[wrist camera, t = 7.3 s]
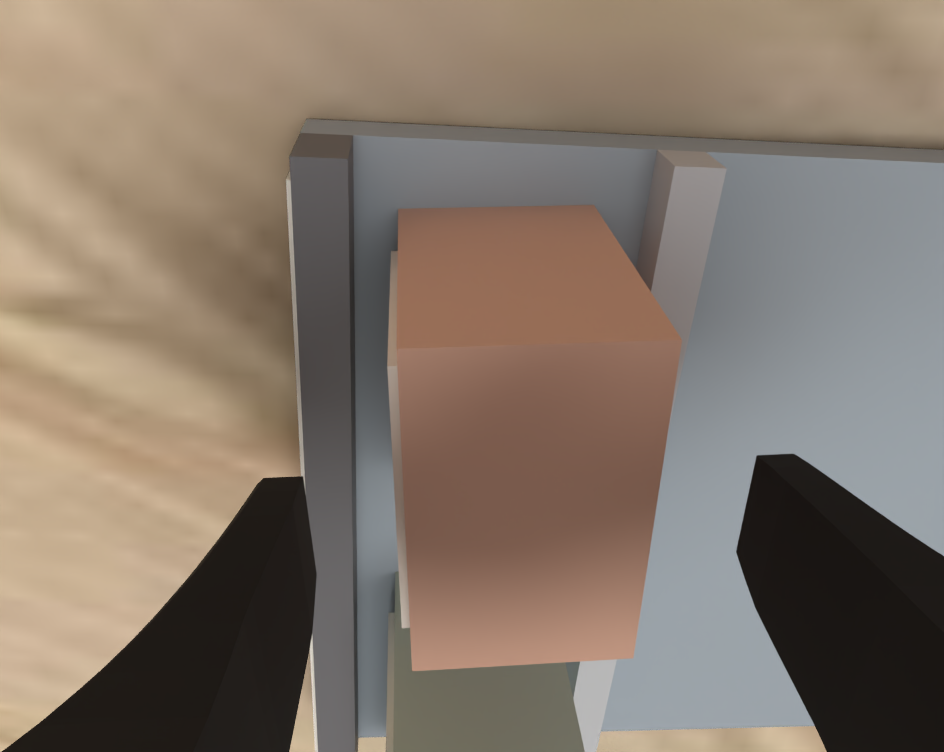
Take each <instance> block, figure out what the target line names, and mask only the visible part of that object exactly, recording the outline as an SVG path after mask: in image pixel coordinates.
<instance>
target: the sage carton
mask: <svg viewBox="0 0 944 752" xmlns="http://www.w3.org/2000/svg"><path fill="white" fill-rule="evenodd" d="M386 752H585V750H584V745H583V741H582V736H581V732H580V727H579V722H578V718H577V713H576V709H575V704H574V699H573V695H572V690H571V686H570V681H569V677H568V672H567V667H566V663H565V662H563V663H546V664H529V665H512V666H495V667H478V668H461V669H444V670H427V671H412V659H411V638H410V628H402V622H401V604H400V586H399V572H395V607H394V613H388V662H387V716H386Z"/></svg>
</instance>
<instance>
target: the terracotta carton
mask: <svg viewBox="0 0 944 752" xmlns="http://www.w3.org/2000/svg"><path fill="white" fill-rule="evenodd" d="M681 344H682V339H681V337H680V336H679V334H678V333H677V331H676V330H675V328H674V327H673V325H672V324H671V322H670V321H669V319H668V317H667V316H666V314H665V313H664V311H663V310H662V308H661V307H660V305H659V304H658V302H657V301H656V299H655V298H654V296H653V294H652V293H651V291H650V290H649V288H648V287H647V285H646V284H645V282H644V281H643V279H642V278H641V276H640V275H639V273H638V272H637V270H636V268H635V267H634V265H633V264H632V262H631V261H630V259H629V258H628V256H627V255H626V253H625V252H624V250H623V249H622V247H621V246H620V244H619V242H618V241H617V239H616V238H615V236H614V235H613V233H612V232H611V230H610V229H609V227H608V226H607V224H606V223H605V221H604V219H603V218H602V216H601V215H600V213H599V212H598V210H597V209H596V207H595V206H594V205H559V206H509V207H458V208H407V209H398V251H391V265H390V297H389V329H388V360H387V370H388V388H389V406H390V424H391V442H392V460H393V478H394V496H395V514H396V532H397V550H398V568H399V586H400V604H401V622H402V628H410V638H411V659H412V671H427V670H444V669H461V668H478V667H495V666H512V665H529V664H546V663H563V662H580V661H597V660H614V659H631V658H633V657H634V651H635V644H636V638H637V631H638V625H639V618H640V612H641V605H642V599H643V592H644V586H645V579H646V573H647V566H648V560H649V553H650V546H651V540H652V533H653V527H654V520H655V514H656V507H657V501H658V494H659V488H660V481H661V475H662V468H663V462H664V455H665V449H666V442H667V436H668V429H669V423H670V416H671V409H672V403H673V396H674V390H675V383H676V377H677V370H678V364H679V357H680V351H681Z"/></svg>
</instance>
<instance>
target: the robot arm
mask: <svg viewBox="0 0 944 752" xmlns="http://www.w3.org/2000/svg"><path fill="white" fill-rule="evenodd" d="M736 553H737V556H738V560H739V563H740V566H741V569H742V572H743V575H744V578H745V581H746V584H747V587H748V589H749V592H750V595H751V598H752V600H753V603H754V606H755V608H756V610H757V613H758V615H759V617H760V619H761V621H762V623H763V625H764V627H765V629H766V631H767V633H768V635H769V637H770V639H771V641H772V643H773V645H774V647H775V649H776V651H777V653H778V655H779V657H780V659H781V661H782V663H783V665H784V667H785V669H786V670H787V672H788V674H789V676H790V678H791V680H792V682H793V684H794V686H795V688H796V690H797V692H798V694H799V696H800V698H801V700H802V702H803V704H804V706H805V708H806V710H807V712H808V714H809V715H810V717H811V719H812V721H813V723H814V725H815V727H816V729H817V731H818V733H819V735H820V737H821V740H822V742H823V744H824V746H825V748H826V751H827V752H944V556H943V555H942V554H940V553H938V552H937V551H935V550H934V549H932V548H931V547H929V546H927V545H926V544H924V543H923V542H921V541H920V540H918V539H917V538H915V537H914V536H912V535H911V534H909V533H908V532H906V531H905V530H903V529H902V528H900V527H899V526H898V525H896V524H895V523H893V522H892V521H890V520H889V519H887V518H886V517H885V516H883V515H882V514H880V513H879V512H877V511H876V510H875V509H873V508H872V507H870V506H869V505H867V504H866V503H865V502H863V501H862V500H860V499H859V498H858V497H856V496H855V495H853V494H852V493H851V492H849V491H848V490H846V489H845V488H844V487H842V486H841V485H839V484H838V483H837V482H835V481H834V480H832V479H831V478H830V477H828V476H827V475H825V474H824V473H822V472H821V471H820V470H818V469H817V468H815V467H814V466H812V465H811V464H809V463H808V462H806V461H805V460H803V459H802V458H800V457H799V456H797V455H795V454H774V455H757V456H756V460H755V465H754V470H753V474H752V479H751V484H750V488H749V493H748V498H747V503H746V507H745V512H744V517H743V521H742V526H741V531H740V535H739V540H738V545H737V549H736ZM316 578H317V572H316V565H315V558H314V551H313V544H312V537H311V530H310V522H309V515H308V508H307V501H306V494H305V487H304V480H303V476H301V477H279V478H263V479H262V480H261V481H260V482H259V483H258V484H257V485H256V487H255V488H254V490H253V491H252V493H251V494H250V496H249V497H248V499H247V500H246V502H245V503H244V505H243V506H242V507H241V509H240V510H239V512H238V513H237V515H236V516H235V517H234V519H233V520H232V522H231V523H230V524H229V526H228V527H227V528H226V530H225V531H224V533H223V534H222V535H221V537H220V538H219V539H218V541H217V542H216V543H215V544H214V546H213V547H212V548H211V550H210V551H209V552H208V553H207V555H206V556H205V557H204V559H203V560H202V561H201V562H200V564H199V565H198V566H197V568H196V569H195V570H194V571H193V573H192V574H191V575H190V576H189V577H188V579H187V580H186V581H185V582H184V583H183V585H182V586H181V587H180V588H179V589H178V590H177V591H176V593H175V594H174V595H173V596H172V597H171V598H170V599H169V601H168V602H167V603H166V604H165V605H164V606H163V607H162V609H161V610H160V611H159V612H158V613H157V614H156V615H155V617H154V618H153V619H152V620H151V621H150V622H149V623H148V624H147V625H146V626H145V627H144V628H143V629H142V630H141V631H140V632H139V634H138V635H137V636H136V637H135V638H134V639H133V640H132V641H131V642H130V643H129V644H128V645H127V646H126V647H125V648H124V649H123V650H122V651H121V652H119V653H118V654H117V655H116V656H115V657H114V658H113V659H112V660H111V661H110V662H109V663H108V664H107V665H106V666H105V667H104V668H103V669H102V670H101V671H100V672H98V673H97V674H96V675H95V676H94V677H93V678H92V679H91V680H89V681H88V682H87V683H86V684H85V685H84V686H83V687H82V688H80V689H79V690H78V691H77V692H76V693H75V694H73V695H72V696H71V697H70V698H69V699H68V700H66V701H65V702H64V703H63V704H62V705H60V706H59V707H58V708H57V709H56V710H55V711H53V712H52V713H51V714H50V715H49V716H47V717H46V718H45V719H44V720H43V721H41V722H40V723H39V724H38V725H36V726H35V727H34V728H32V729H31V730H30V731H28V732H27V733H26V734H25V735H23V736H22V737H21V738H19V739H18V740H17V741H15V742H14V743H13V744H11V745H10V746H9V747H7V748H6V749H5V750H3V751H2V752H289V750H290V745H291V740H292V735H293V729H294V724H295V719H296V714H297V709H298V704H299V699H300V694H301V689H302V684H303V679H304V674H305V669H306V664H307V659H308V654H309V648H310V643H311V638H312V631H313V619H314V607H315V593H316Z"/></svg>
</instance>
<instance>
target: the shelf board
mask: <svg viewBox="0 0 944 752" xmlns="http://www.w3.org/2000/svg"><path fill="white" fill-rule="evenodd" d="M289 159H290V171H289V174H288V176H287V178H286V191H287V211H288V230H289V250H290V270H291V289H292V309H293V328H294V348H295V367H296V387H297V407H298V426H299V446H300V465H301V476H303V480H304V487H305V494H306V501H307V508H308V515H309V522H310V530H311V537H312V544H313V551H314V558H315V565H316V572H317V578H316V593H315V607H314V619H313V631H312V638H311V643H310V661H311V681H312V700H313V720H314V739H315V752H358V738H360V737H386V716H387V662H388V613H394V607H395V572H399V568H398V550H397V532H396V514H395V496H394V478H393V460H392V442H391V424H390V406H389V388H388V370H387V360H388V329H389V297H390V265H391V251H398V209H407V208H458V207H509V206H559V205H594V206H595V207H596V209H597V210H598V212H599V213H600V215H601V216H602V218H603V219H604V221H605V223H606V224H607V226H608V227H609V229H610V230H611V232H612V233H613V235H614V236H615V238H616V239H617V241H618V242H619V244H620V246H621V247H622V249H623V250H624V252H625V253H626V255H627V256H628V258H629V259H630V261H631V262H632V264H633V265H634V267H635V268H636V270H637V272H638V273H639V275H640V276H641V278H642V279H643V281H644V282H645V284H646V285H647V287H648V288H649V290H650V291H651V293H652V294H653V296H654V298H655V299H656V301H657V302H658V304H659V305H660V307H661V308H662V310H663V311H664V313H665V314H666V316H667V317H668V319H669V321H670V322H671V324H672V325H673V327H674V328H675V330H676V331H677V333H678V334H679V336H680V337H681V339H682V344H681V351H680V357H679V364H678V370H677V377H676V383H675V390H674V396H673V403H672V409H671V416H670V423H669V429H668V436H667V442H666V449H665V455H664V462H663V468H662V475H661V481H660V488H659V494H658V501H657V507H656V514H655V520H654V527H653V533H652V540H651V546H650V553H649V560H648V566H647V573H646V579H645V586H644V592H643V599H642V605H641V612H640V618H639V625H638V631H637V638H636V644H635V651H634V657H633V658H631V659H614V660H597V661H580V662H565V663H566V667H567V672H568V677H569V681H570V686H571V690H572V695H573V699H574V704H575V709H576V713H577V718H578V722H579V727H580V732H581V736H582V741H583V745H584V750H585V752H596V751H597V746H598V742H599V737H600V733H601V731H634V730H673V729H712V728H751V727H790V726H815V725H814V723H813V721H812V719H811V717H810V715H809V714H808V712H807V710H806V708H805V706H804V704H803V702H802V700H801V698H800V696H799V694H798V692H797V690H796V688H795V686H794V684H793V682H792V680H791V678H790V676H789V674H788V672H787V670H786V669H785V667H784V665H783V663H782V661H781V659H780V657H779V655H778V653H777V651H776V649H775V647H774V645H773V643H772V641H771V639H770V637H769V635H768V633H767V631H766V629H765V627H764V625H763V623H762V621H761V619H760V617H759V615H758V613H757V610H756V608H755V606H754V603H753V600H752V598H751V595H750V592H749V589H748V587H747V584H746V581H745V578H744V575H743V572H742V569H741V566H740V563H739V560H738V556H737V553H736V549H737V545H738V540H739V535H740V531H741V526H742V521H743V517H744V512H745V507H746V503H747V498H748V493H749V488H750V484H751V479H752V474H753V470H754V465H755V460H756V456H757V455H774V454H795V455H797V456H799V457H800V458H802V459H803V460H805V461H806V462H808V463H809V464H811V465H812V466H814V467H815V468H817V469H818V470H820V471H821V472H822V473H824V474H825V475H827V476H828V477H830V478H831V479H832V480H834V481H835V482H837V483H838V484H839V485H841V486H842V487H844V488H845V489H846V490H848V491H849V492H851V493H852V494H853V495H855V496H856V497H858V498H859V499H860V500H862V501H863V502H865V503H866V504H867V505H869V506H870V507H872V508H873V509H875V510H876V511H877V512H879V513H880V514H882V515H883V516H885V517H886V518H887V519H889V520H890V521H892V522H893V523H895V524H896V525H898V526H899V527H900V528H902V529H903V530H905V531H906V532H908V533H909V534H911V535H912V536H914V537H915V538H917V539H918V540H920V541H921V542H923V543H924V544H926V545H927V546H929V547H931V548H932V549H934V550H935V551H937V552H938V553H940V554H942V555H943V556H944V150H935V149H915V148H894V147H874V146H854V145H833V144H813V143H792V142H772V141H751V140H731V139H711V138H690V137H670V136H649V135H629V134H608V133H588V132H568V131H547V130H527V129H506V128H486V127H465V126H445V125H425V124H404V123H384V122H363V121H343V120H322V119H306V121H305V123H304V125H303V128H302V130H301V132H300V134H299V136H298V139H297V141H296V143H295V145H294V147H293V150H292V152H291V154H290V156H289Z"/></svg>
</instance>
